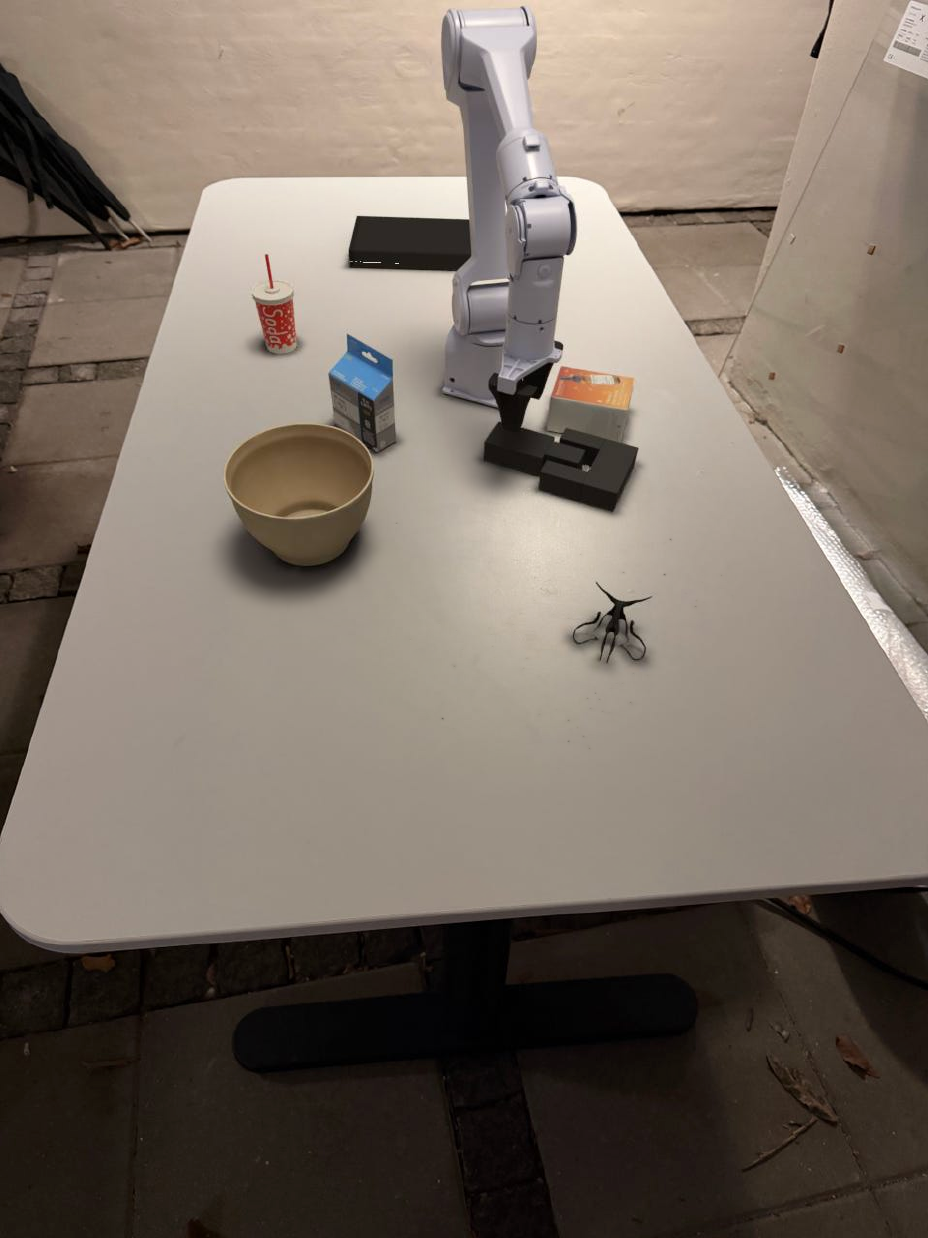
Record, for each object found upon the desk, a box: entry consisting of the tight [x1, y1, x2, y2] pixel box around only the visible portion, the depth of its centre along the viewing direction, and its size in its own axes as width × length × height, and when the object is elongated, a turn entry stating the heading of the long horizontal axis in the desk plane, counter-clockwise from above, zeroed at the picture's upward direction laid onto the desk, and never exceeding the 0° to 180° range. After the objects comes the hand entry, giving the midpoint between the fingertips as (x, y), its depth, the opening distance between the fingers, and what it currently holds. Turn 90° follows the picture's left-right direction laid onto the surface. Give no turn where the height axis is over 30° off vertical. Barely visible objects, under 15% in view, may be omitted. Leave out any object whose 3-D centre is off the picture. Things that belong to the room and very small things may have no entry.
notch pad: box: [538, 428, 639, 512], centre depth 100 cm, size 10×10×3 cm
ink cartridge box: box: [327, 333, 397, 453], centre depth 101 cm, size 9×4×12 cm, turn 47°
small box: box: [546, 365, 636, 443], centre depth 107 cm, size 8×6×10 cm
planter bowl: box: [222, 422, 375, 567], centre depth 88 cm, size 16×16×11 cm
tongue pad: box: [483, 420, 585, 477], centre depth 102 cm, size 12×5×3 cm, turn 67°
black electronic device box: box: [348, 215, 471, 271], centre depth 140 cm, size 14×23×3 cm, turn 89°
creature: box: [572, 581, 653, 664], centre depth 82 cm, size 8×5×8 cm
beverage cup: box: [250, 253, 298, 355], centre depth 114 cm, size 6×6×14 cm
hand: (522, 412), depth 98 cm, fingers open, 7 cm apart
